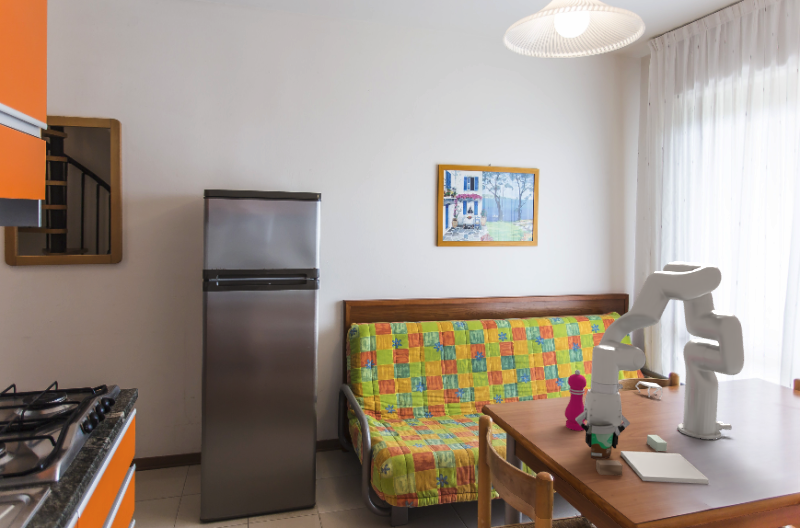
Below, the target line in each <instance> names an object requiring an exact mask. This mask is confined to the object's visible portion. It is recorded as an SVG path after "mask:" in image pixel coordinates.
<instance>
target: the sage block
mask: <svg viewBox="0 0 800 528" xmlns="http://www.w3.org/2000/svg"><path fill="white" fill-rule="evenodd" d="M646 436H647V437H646V444H647V445H648V446H649V445H650V446H649V447H650V448H652V449H653V450H654V449H655V451H656V452H658V451H667V449H668V442H667V441H666V440H664V439H663V438H661V437H660V436H659V435H658V434H647V435H646Z"/></svg>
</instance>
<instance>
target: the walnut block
mask: <svg viewBox="0 0 800 528" xmlns="http://www.w3.org/2000/svg"><path fill="white" fill-rule="evenodd" d="M595 461H596V464H595V470H596V471H597V473H598V475H601V476H603V475H605V476H621V477H622V476H623V464H622V463H621V462H620V461H619V460H614V459H613V460H611V459H596V460H595Z"/></svg>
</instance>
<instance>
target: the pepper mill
mask: <svg viewBox="0 0 800 528" xmlns="http://www.w3.org/2000/svg"><path fill="white" fill-rule="evenodd" d="M567 384H568V386H569V388H568V389H569V390H568V392H569V394H570V398H569V401H568V404H567V405H566V408H565V410H564V416H565V418H566V420H565V427H566V428H567V429H568V428H569V430H571V429H572V430H571V431H576V432H577V431H578V432H579V431H580V432H581V430H582V431H585V430H584V429H583V428H582V427H581V426H580V425H579V424H578V422H577V421H576V420H575V419H576V418H577V417H578V416H579V415H580V414H581V413H583V412H584V405H585V403H584V401H583V399H584V394H585V388H586V386H587V379H586V377H585V376H584V375H582V374H581V371H580V369H575V371H574V373H572V374H571V375H569V376H568V378H567ZM582 422H583V423H584V424H585V425H586V420H585V419H583V420H582Z"/></svg>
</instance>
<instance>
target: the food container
mask: <svg viewBox="0 0 800 528" xmlns="http://www.w3.org/2000/svg"><path fill="white" fill-rule="evenodd" d="M615 431H616V428H615V426H613V425H610V426H592V444H591V447H590V450H591V453H590V454H591V455H590V458H591V459H596V460H605V459H608V458H610V457H611V455H612V449H613V447H612V440H613V432H615Z"/></svg>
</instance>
